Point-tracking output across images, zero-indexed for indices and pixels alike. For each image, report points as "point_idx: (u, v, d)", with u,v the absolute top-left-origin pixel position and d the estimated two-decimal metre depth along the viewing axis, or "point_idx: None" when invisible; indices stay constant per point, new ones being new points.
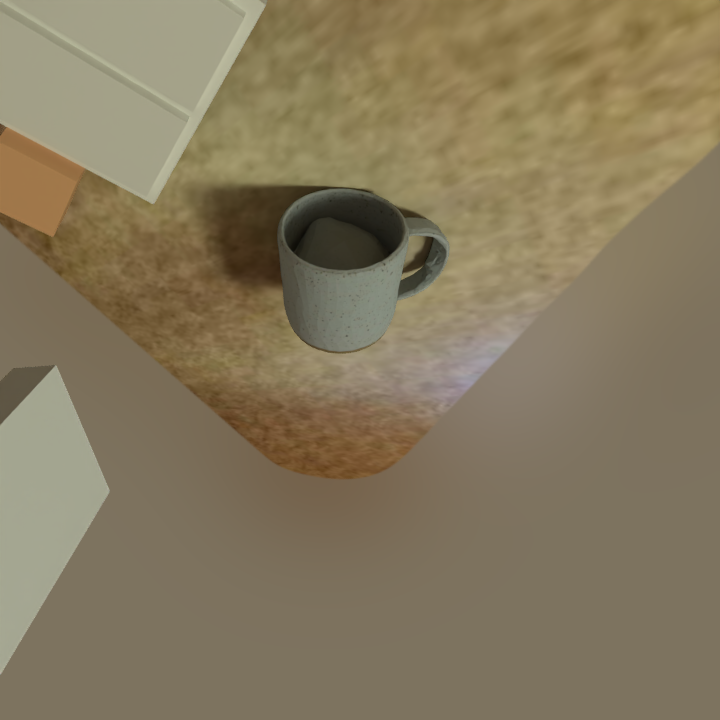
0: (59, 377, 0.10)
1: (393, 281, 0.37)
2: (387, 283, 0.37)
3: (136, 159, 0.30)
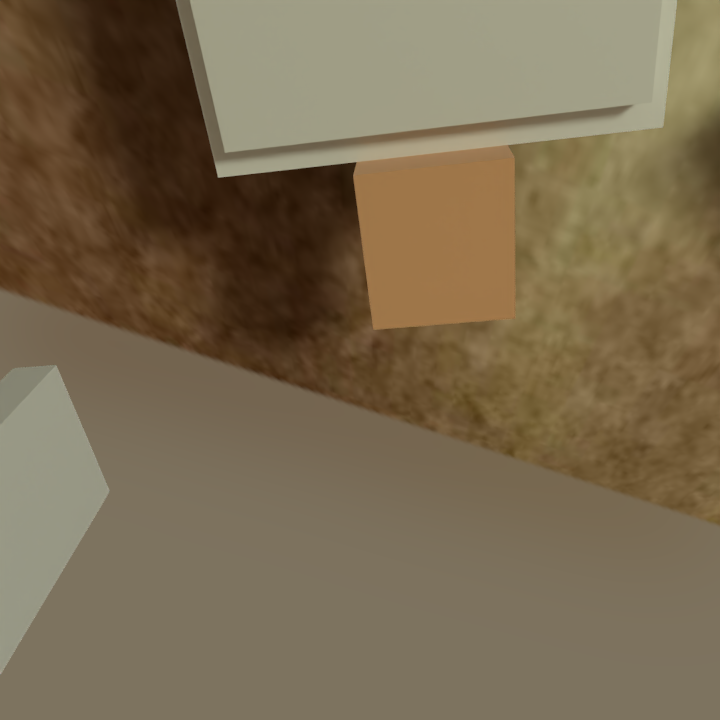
0: (59, 377, 0.10)
1: None
2: None
3: (601, 22, 0.13)
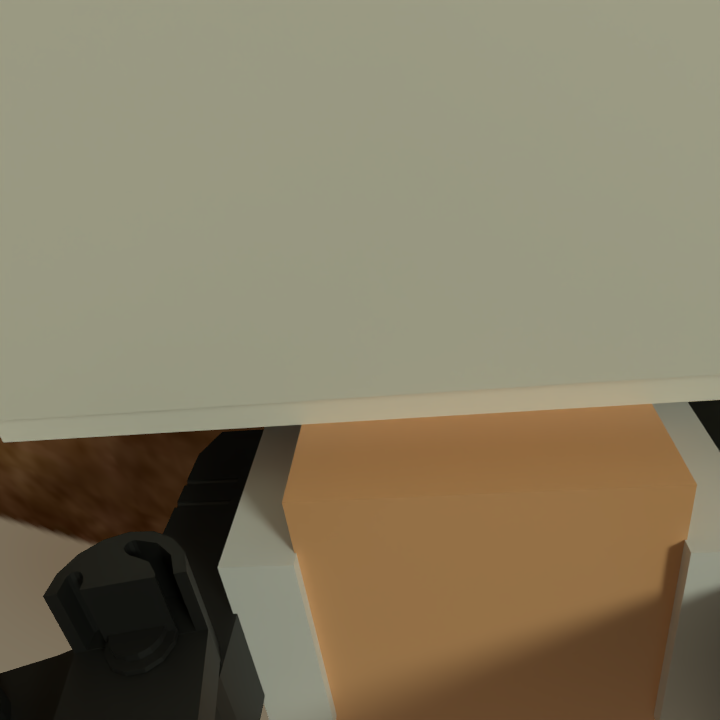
0: None
1: None
2: None
3: None
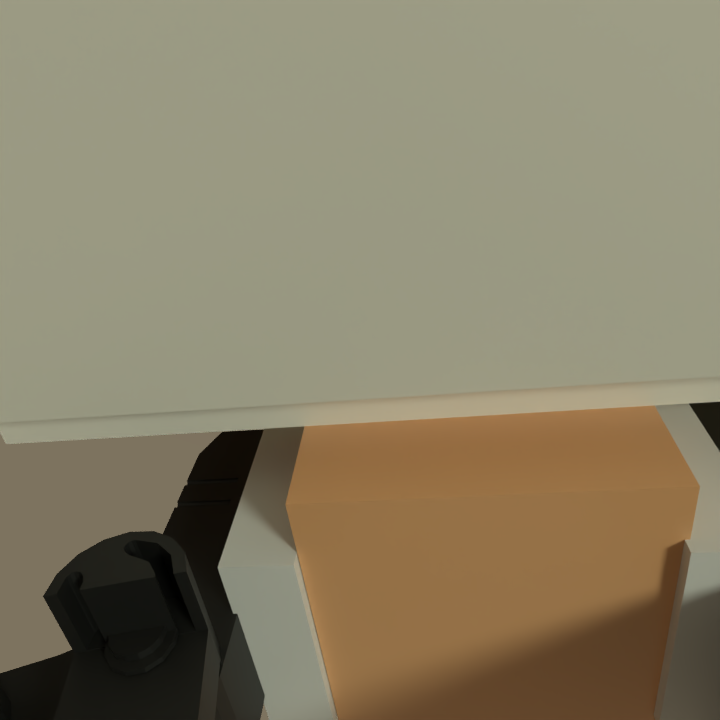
0: None
1: None
2: None
3: None
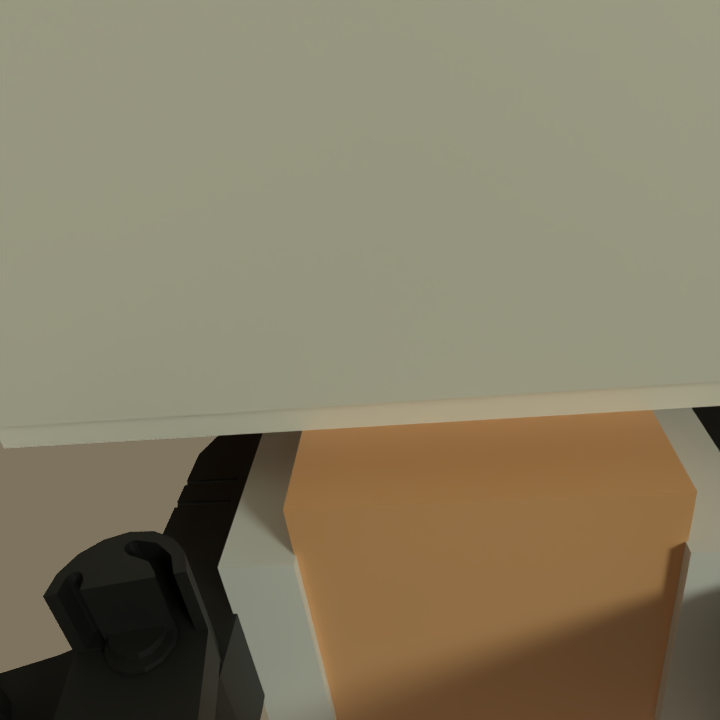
0: None
1: None
2: None
3: None
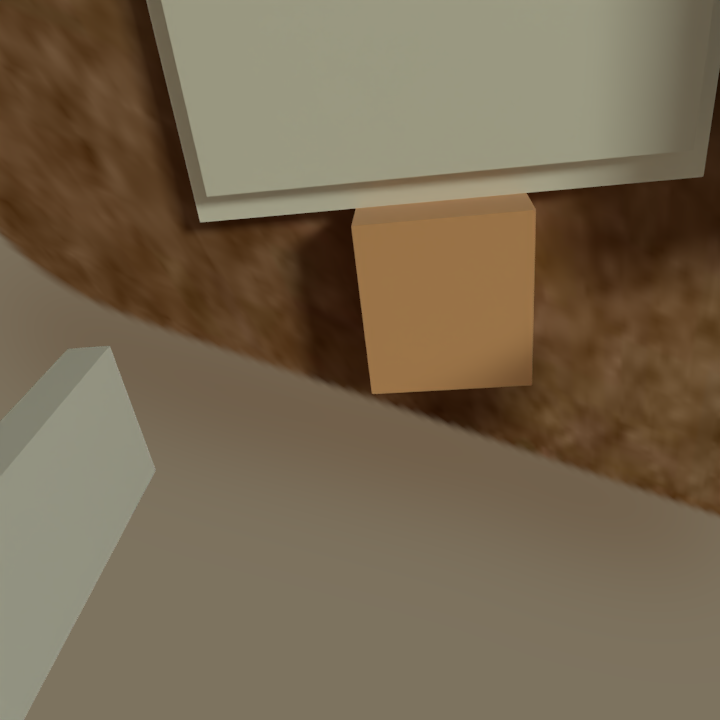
0: (112, 357, 0.11)
1: None
2: None
3: (638, 59, 0.11)
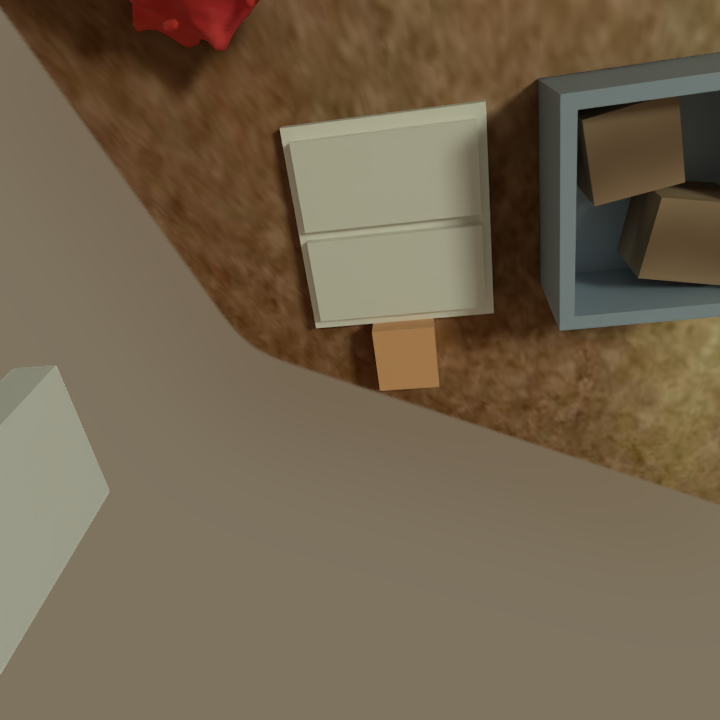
0: (59, 377, 0.10)
1: None
2: None
3: (463, 281, 0.36)
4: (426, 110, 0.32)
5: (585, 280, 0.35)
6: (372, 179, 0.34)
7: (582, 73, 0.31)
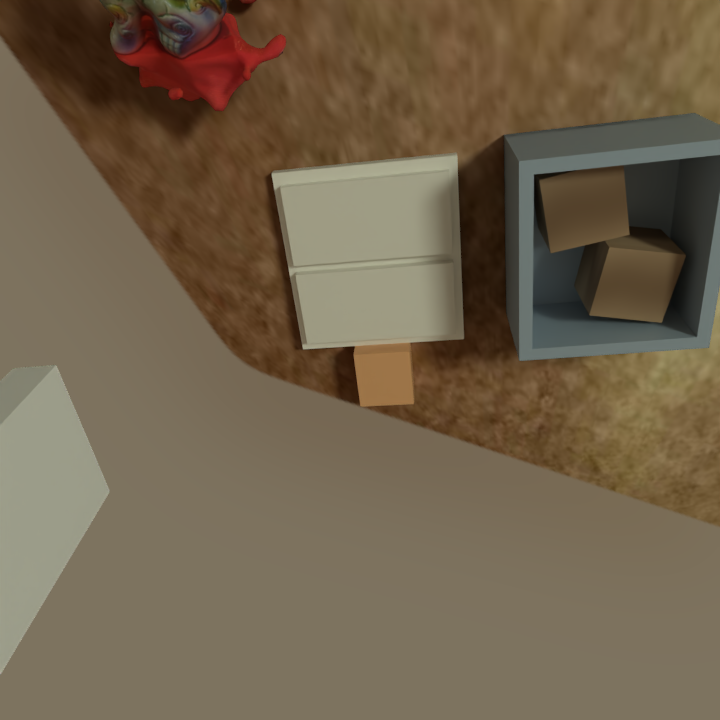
0: (59, 377, 0.10)
1: None
2: None
3: (436, 311, 0.40)
4: (404, 161, 0.36)
5: (545, 312, 0.39)
6: (355, 220, 0.37)
7: (543, 132, 0.35)
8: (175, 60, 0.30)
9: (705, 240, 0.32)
